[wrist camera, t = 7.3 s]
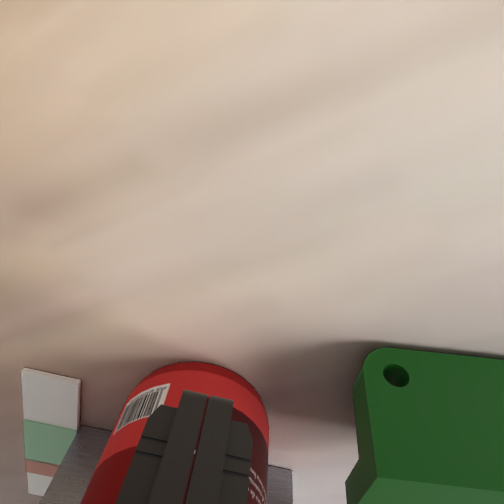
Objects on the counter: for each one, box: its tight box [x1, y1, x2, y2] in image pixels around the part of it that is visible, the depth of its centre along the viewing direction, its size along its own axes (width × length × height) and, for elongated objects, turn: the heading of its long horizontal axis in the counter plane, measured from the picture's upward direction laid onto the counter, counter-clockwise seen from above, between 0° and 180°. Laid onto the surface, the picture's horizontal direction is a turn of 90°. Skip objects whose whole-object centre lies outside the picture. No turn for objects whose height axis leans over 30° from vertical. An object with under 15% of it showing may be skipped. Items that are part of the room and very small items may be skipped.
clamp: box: [345, 347, 504, 504], centre depth 18 cm, size 12×6×9 cm, turn 79°
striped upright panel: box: [21, 368, 81, 496], centre depth 23 cm, size 3×11×1 cm, turn 167°
